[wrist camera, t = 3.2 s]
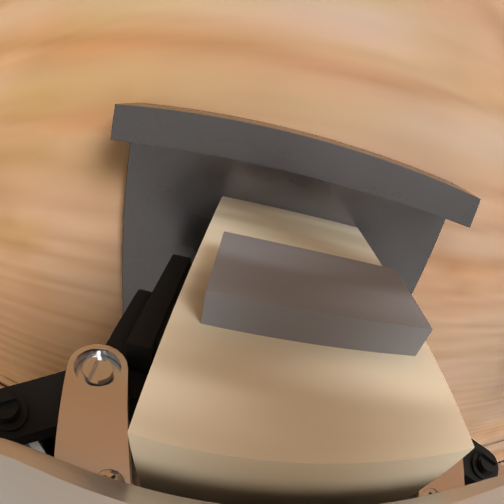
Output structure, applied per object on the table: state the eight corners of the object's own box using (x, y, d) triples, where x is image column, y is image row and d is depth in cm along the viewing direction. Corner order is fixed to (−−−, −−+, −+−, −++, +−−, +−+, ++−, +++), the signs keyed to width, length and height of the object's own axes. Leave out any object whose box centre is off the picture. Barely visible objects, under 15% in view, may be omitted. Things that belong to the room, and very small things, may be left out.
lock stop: (363, 210, 10) (501, 422, 3) (304, 357, 13) (320, 543, 6) (226, 177, 10) (121, 401, 2) (198, 337, 12) (152, 527, 5)
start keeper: (453, 183, 9) (480, 198, 8) (348, 393, 14) (354, 421, 13) (139, 102, 9) (115, 104, 7) (128, 354, 14) (115, 381, 12)
